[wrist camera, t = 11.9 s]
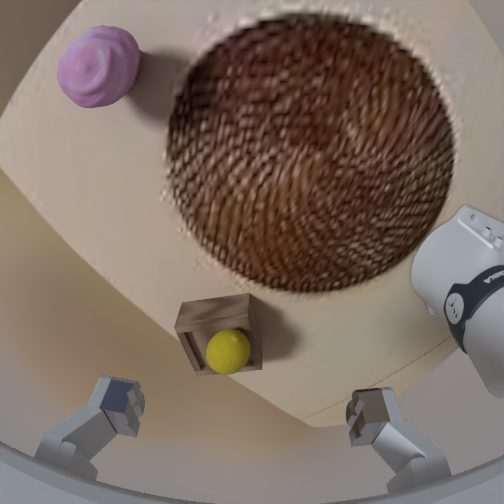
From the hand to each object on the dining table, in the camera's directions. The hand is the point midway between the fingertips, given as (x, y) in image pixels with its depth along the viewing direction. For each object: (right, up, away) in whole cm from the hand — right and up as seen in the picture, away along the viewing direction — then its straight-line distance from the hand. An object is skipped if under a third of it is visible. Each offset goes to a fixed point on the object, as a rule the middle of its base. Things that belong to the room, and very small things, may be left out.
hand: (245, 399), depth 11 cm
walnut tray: (-4, -5, +37) cm, 37 cm away
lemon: (-4, -11, +31) cm, 33 cm away
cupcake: (-15, +27, +19) cm, 36 cm away
